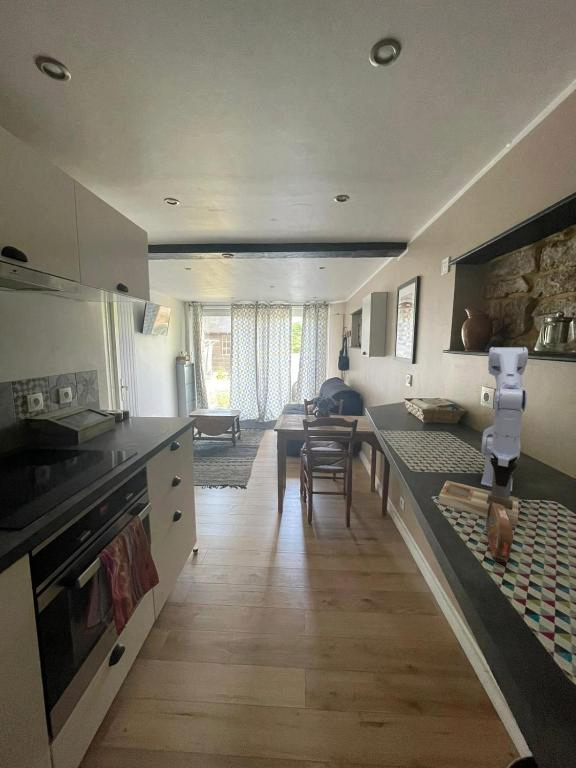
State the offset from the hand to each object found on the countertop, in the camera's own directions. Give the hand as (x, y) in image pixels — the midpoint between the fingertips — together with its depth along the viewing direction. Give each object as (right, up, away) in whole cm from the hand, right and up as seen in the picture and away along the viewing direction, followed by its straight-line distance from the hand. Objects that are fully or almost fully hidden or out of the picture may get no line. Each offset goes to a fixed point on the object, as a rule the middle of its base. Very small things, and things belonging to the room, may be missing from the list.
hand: (501, 482), depth 81 cm
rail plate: (-4, -8, +4) cm, 10 cm away
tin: (-10, -11, -12) cm, 19 cm away
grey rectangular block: (0, -3, +1) cm, 3 cm away
